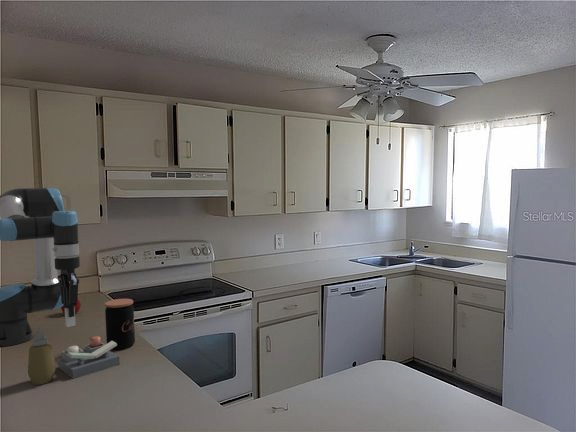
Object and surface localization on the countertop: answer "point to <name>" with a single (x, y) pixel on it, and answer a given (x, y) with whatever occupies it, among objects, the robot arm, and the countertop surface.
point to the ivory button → (73, 349)
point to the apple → (75, 307)
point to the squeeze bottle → (41, 360)
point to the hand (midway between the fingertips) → (70, 325)
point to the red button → (95, 341)
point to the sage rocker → (81, 355)
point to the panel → (87, 362)
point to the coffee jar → (120, 323)
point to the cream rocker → (104, 349)
